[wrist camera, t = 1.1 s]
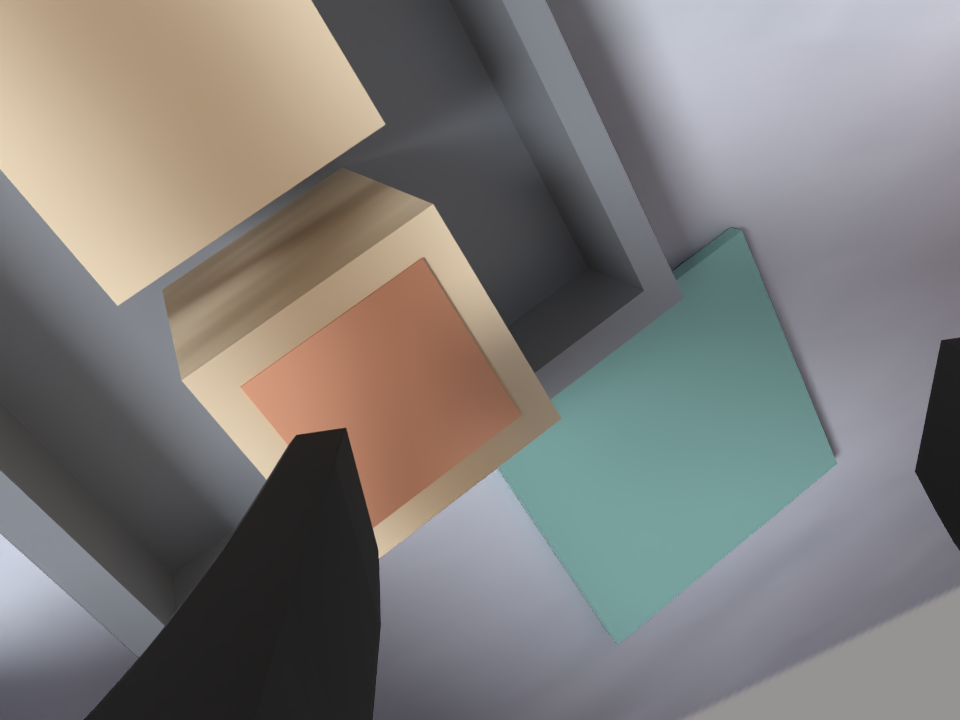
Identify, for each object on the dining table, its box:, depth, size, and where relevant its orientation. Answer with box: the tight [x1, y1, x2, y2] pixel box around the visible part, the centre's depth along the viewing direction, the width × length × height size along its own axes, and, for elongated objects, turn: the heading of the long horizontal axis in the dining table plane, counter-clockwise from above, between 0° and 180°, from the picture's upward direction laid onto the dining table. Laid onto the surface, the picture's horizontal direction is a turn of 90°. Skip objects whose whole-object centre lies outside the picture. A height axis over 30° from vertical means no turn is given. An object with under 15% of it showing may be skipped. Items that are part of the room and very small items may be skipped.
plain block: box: [0, 0, 386, 306], centre depth 14 cm, size 5×5×6 cm
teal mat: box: [498, 228, 837, 644], centre depth 24 cm, size 9×9×1 cm
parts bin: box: [0, 0, 684, 658], centre depth 17 cm, size 14×14×3 cm
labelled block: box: [162, 167, 562, 558], centre depth 16 cm, size 5×5×6 cm
